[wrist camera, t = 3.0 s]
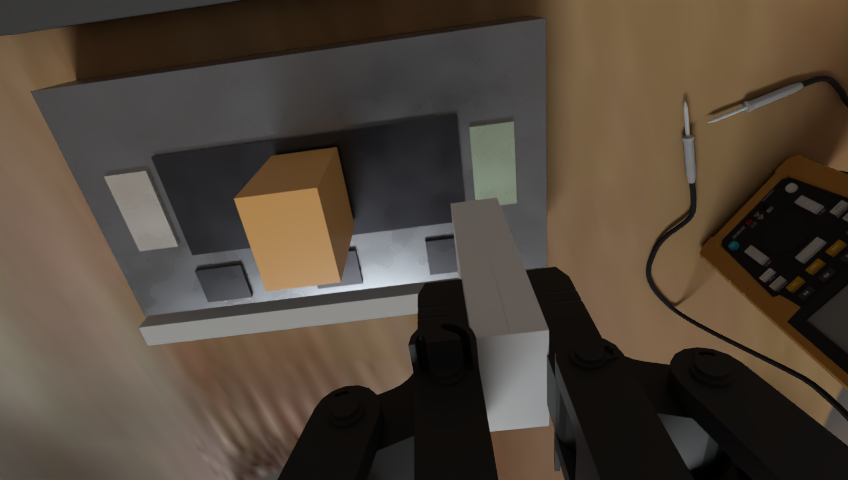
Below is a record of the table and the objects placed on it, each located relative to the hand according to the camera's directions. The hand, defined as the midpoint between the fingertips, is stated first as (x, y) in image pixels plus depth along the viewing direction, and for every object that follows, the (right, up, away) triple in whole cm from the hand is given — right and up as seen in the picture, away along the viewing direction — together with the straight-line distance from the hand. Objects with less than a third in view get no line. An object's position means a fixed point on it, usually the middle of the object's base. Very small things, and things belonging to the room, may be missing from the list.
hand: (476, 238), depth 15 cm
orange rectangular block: (-7, +2, +6) cm, 10 cm away
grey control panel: (-7, +4, +9) cm, 12 cm away
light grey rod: (-7, -4, +13) cm, 16 cm away
